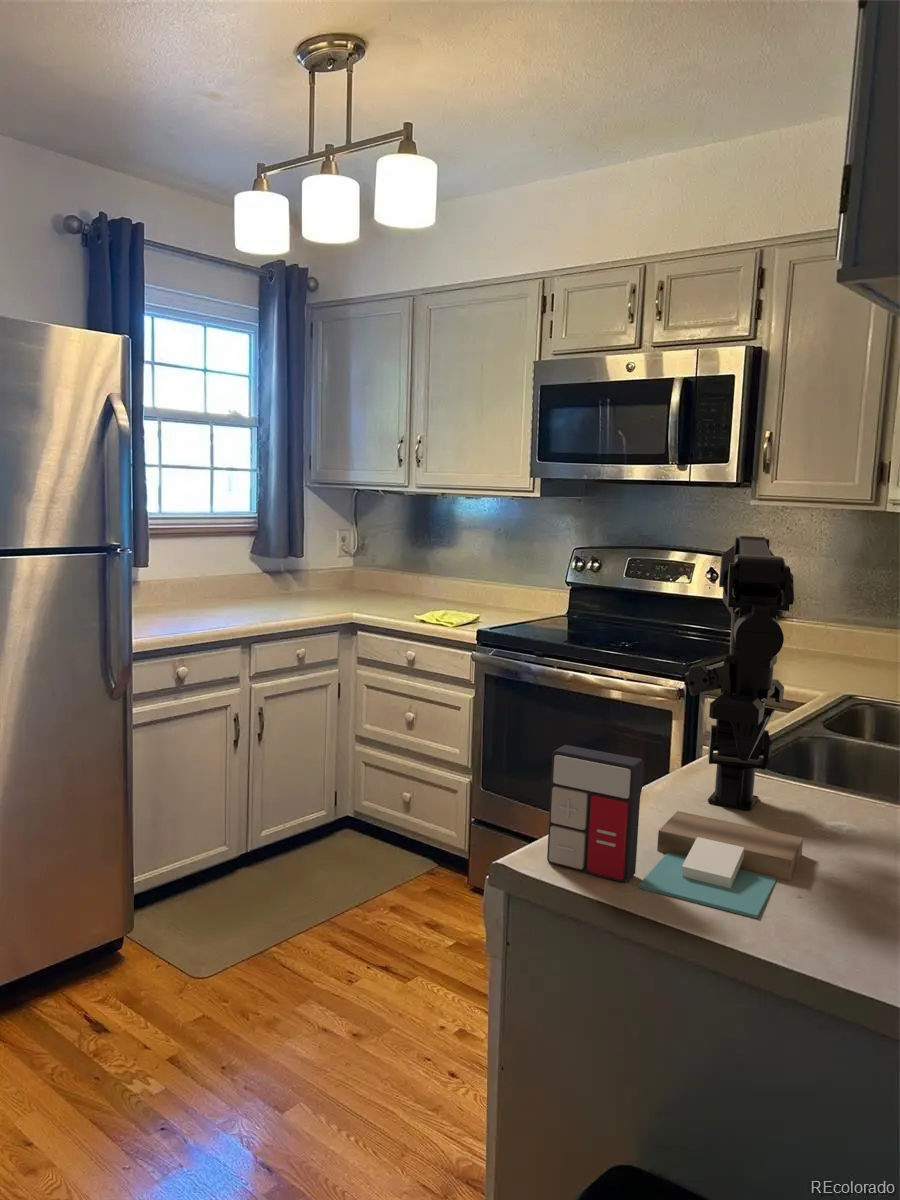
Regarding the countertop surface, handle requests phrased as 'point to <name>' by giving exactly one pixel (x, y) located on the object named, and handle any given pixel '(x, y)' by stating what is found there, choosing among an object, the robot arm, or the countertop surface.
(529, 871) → the countertop surface
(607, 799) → the calculator
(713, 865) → the tile
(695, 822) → the wooden board
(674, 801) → the countertop surface
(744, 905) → the mat
